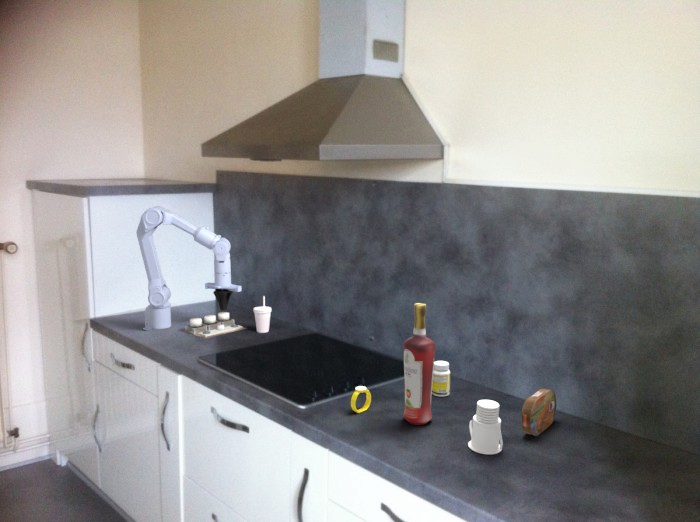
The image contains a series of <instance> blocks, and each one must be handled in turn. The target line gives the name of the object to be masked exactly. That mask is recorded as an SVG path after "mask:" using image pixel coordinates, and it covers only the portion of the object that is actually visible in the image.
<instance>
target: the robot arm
mask: <svg viewBox="0 0 700 522" xmlns="http://www.w3.org/2000/svg"><path fill="white" fill-rule="evenodd" d="M160 225H162V226H168V225H169V226H174V227H176V228H177V229H179V230H181V231H183V232H185V233H187V234H190V235H191V236H192V238H193V240H194V242H196V243H198V244H199V245H201V246H203V247H204V248H207V249H208V250H212V252H213V254H214V260H213V261H214V262H213V263H214V264H213V265H214V266H213V267H214V282H205V283H204V289H206V290H207V289H208V290H209V289H210V290H214V291H213V295H214V296H215V298H216V300H217V303H218V306H219V310H220V311H226V310H227V309H228V304H229V302H230V299H231V297H232V295H233V293H234V292H235V293H239V292H242V291H243V289H242V285H238V284H233V283H232V274H231V273H232V271H231V267H232V264H231V254H230V251H231V245H232V244H231V242H230V241H229V240H228V239H227V238H226V237H222V235H220V234H216V233H215V232H213V231H211V230H210V227H208V226H206V227H205V226H201V227H197V226H196V225H194V224H192V223H191V222H189V221H187V220H186V219H185V218H183V217H182V216H179V215H178V214H176V213H175V212H174V211H171V210H169V209H167V208H164V207H163V206H161V205H155V206H153V207H149V208H147V209H146V210H145V211H144V212H143V213H142V214H141V215H140V220H139V223H138V226H137V229H136V231H135V232H136V237H137V241H138V246H139V248H140V252H141V253H140V254H141V257H142V262H143V265H144V269H145V273H146V277H147V280H148V283H147V290H148V295H147V301H148V303H149V305H147V306H146V307H145V310H144V327H143V328H142V329H143V330H145V331H151V330H155V329H156V330H163V329H168V328H170V327H172V314H171V312H172V310H171V309H172V308H171V307H172V306H171V303H170V299H171V296H172V291H171V289H170V287H168V285H167V283H166V280H165V278H164V276H163V274H162V269H161V265H160V260H159V258H158V252H157V248H156V245H155V244H156V243H155V241H154V237H153V234H154V233H155V231H156V230H157V229H158V228H159V226H160Z"/></svg>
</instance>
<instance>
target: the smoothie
mask: <svg viewBox="0 0 700 522" xmlns="http://www.w3.org/2000/svg"><path fill="white" fill-rule="evenodd" d="M262 302H263V303H262V306H255V307H253V309H252V310H253V311H252V312H253V313H254V321H255V327H256V332H257V333H259V334H264V333H268V332H269V330H270V324H271V323H270V322H271V313H272V312H273V311H272V307H271V306H268V305H267V306H266V297H265V295H263V296H262Z"/></svg>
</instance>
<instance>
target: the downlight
mask: <svg viewBox="0 0 700 522" xmlns="http://www.w3.org/2000/svg"><path fill="white" fill-rule="evenodd" d="M499 413H500V403H499V402H497V401H495V400H491V399H479V400H478V401H477V402H476V413H475V414H474V415H473V417H472V419H471V420H470V421H469V425H468V428H469V429H468V430H469V433H470V438H471V440H469V441H468V443H467V446H468V448H469V449H470V450H471V451H473V452H475V453H477V454H482V455H497V454H498V453H500V452H502V450H503V445H504V441H503V437H502V431H501V429H502V428H501V426H502V419H501V418H500V417H499Z"/></svg>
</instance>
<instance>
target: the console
mask: <svg viewBox="0 0 700 522" xmlns="http://www.w3.org/2000/svg"><path fill="white" fill-rule="evenodd" d="M217 325H224V327H227V326H231V325H235V319H234V318H230V317H229V320H225V321H221V320H218V318H216V323H212V324H206V323H204V321H202V326H199V327H191V326H190V324H188V325H185V326H184V329H183V330H181V332H183V333H186V334H190V335H193V336H196V337H198V338H199V337H200V338H204V339H210V338H213V337H217V336H221V335H226V334H229V333H234V332H238V331H241V330H242V331H243V330H247V329H248V328H247V327H244V326H243V328H240V329H236V330H232V331H228V332H224V333H220V334H216V335H211V336H207V337H204V336H201V335H198V333H201V332H204V331H209V330H214V329H217Z"/></svg>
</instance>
